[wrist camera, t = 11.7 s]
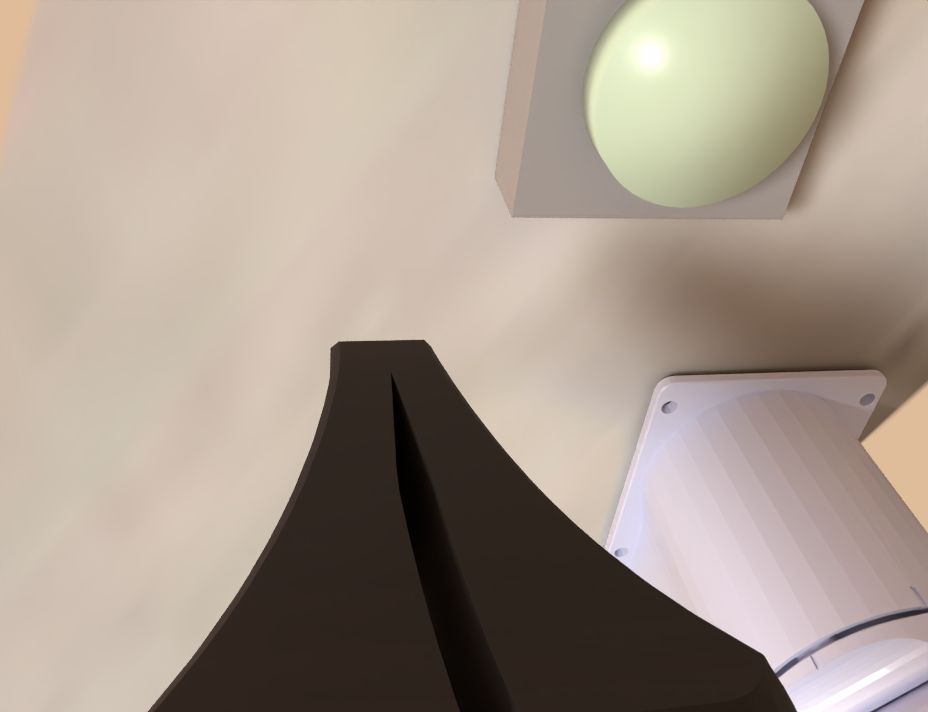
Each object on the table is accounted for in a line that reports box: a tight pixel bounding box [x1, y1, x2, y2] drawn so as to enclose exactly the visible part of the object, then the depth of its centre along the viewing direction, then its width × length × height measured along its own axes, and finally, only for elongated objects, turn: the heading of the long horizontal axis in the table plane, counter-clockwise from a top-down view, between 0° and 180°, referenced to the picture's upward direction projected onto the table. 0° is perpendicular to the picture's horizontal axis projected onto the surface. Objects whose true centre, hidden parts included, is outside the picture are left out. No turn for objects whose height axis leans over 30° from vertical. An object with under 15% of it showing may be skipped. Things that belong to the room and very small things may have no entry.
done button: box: [582, 0, 829, 208], centre depth 19 cm, size 5×5×3 cm
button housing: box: [495, 0, 864, 220], centre depth 20 cm, size 7×7×2 cm
